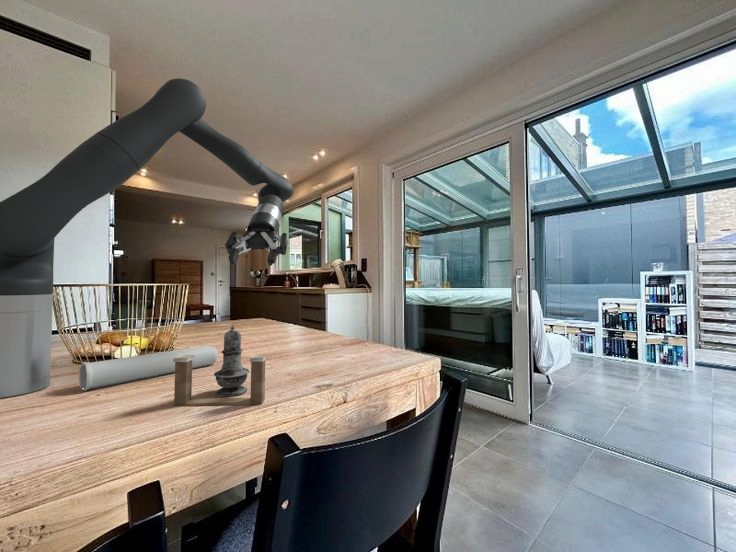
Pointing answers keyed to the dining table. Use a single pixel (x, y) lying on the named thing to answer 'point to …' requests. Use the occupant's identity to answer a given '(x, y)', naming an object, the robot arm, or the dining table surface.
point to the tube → (140, 367)
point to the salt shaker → (231, 367)
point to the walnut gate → (185, 390)
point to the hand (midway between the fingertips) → (251, 262)
